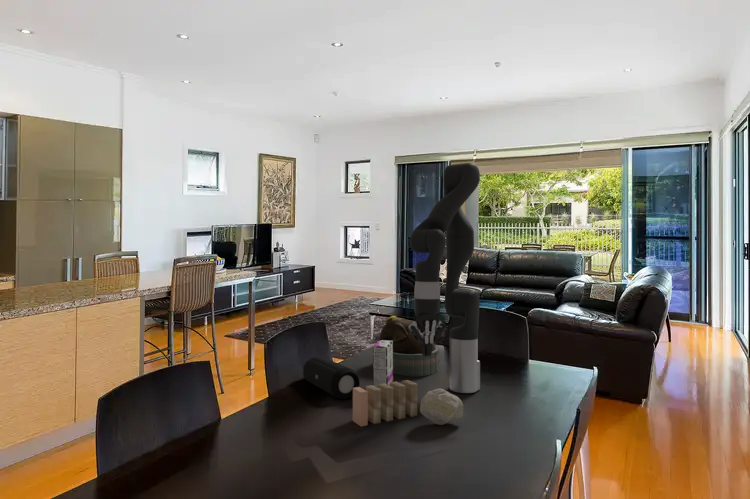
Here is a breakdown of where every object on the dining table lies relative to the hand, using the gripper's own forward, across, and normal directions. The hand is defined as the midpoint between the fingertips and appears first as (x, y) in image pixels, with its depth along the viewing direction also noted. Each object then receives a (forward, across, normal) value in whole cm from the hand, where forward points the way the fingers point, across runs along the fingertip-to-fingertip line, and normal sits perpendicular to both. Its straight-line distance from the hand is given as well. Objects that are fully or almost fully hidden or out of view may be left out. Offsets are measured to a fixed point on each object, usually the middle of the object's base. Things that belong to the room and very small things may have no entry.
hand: (426, 355), depth 143 cm
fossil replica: (+16, -4, -12) cm, 21 cm away
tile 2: (+16, -10, 0) cm, 19 cm away
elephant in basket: (+16, +19, +40) cm, 47 cm away
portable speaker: (+16, -17, +32) cm, 40 cm away
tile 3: (+16, -14, 0) cm, 21 cm away
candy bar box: (+16, -2, +22) cm, 27 cm away
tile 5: (+16, -22, 0) cm, 27 cm away
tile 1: (+16, -6, 0) cm, 17 cm away
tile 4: (+16, -18, 0) cm, 24 cm away
